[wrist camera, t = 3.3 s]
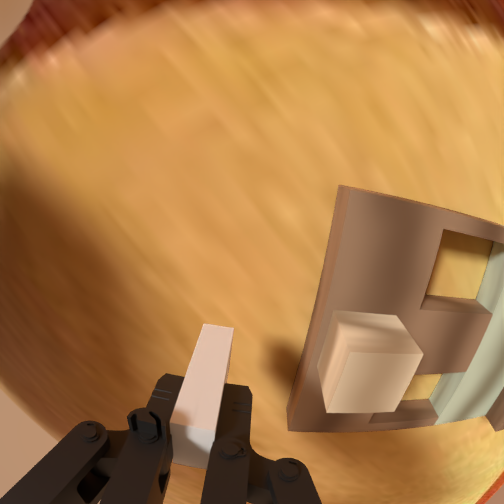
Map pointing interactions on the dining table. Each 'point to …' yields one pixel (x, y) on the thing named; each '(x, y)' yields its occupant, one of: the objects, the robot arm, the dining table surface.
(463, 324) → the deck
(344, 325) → the block
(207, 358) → the robot arm
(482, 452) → the dining table surface
